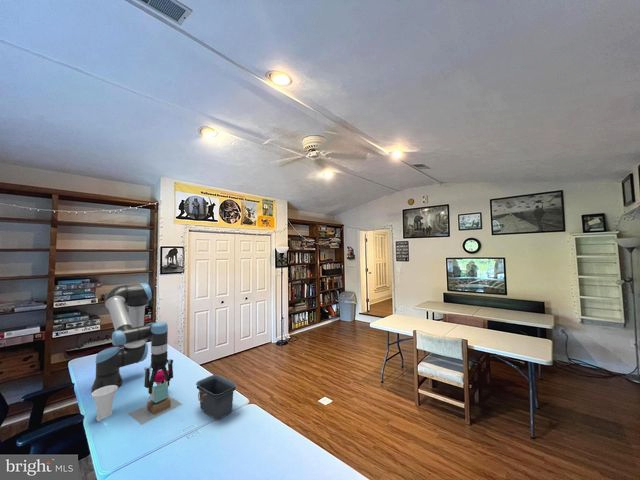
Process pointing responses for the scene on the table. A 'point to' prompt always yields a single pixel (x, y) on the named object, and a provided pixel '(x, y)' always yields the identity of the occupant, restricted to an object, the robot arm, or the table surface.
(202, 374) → the table surface
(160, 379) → the toy
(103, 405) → the cup
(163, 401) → the walnut brick
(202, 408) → the storage bin
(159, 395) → the teal brick
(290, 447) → the table surface
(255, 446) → the table surface
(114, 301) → the robot arm
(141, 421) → the build plate
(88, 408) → the table surface
